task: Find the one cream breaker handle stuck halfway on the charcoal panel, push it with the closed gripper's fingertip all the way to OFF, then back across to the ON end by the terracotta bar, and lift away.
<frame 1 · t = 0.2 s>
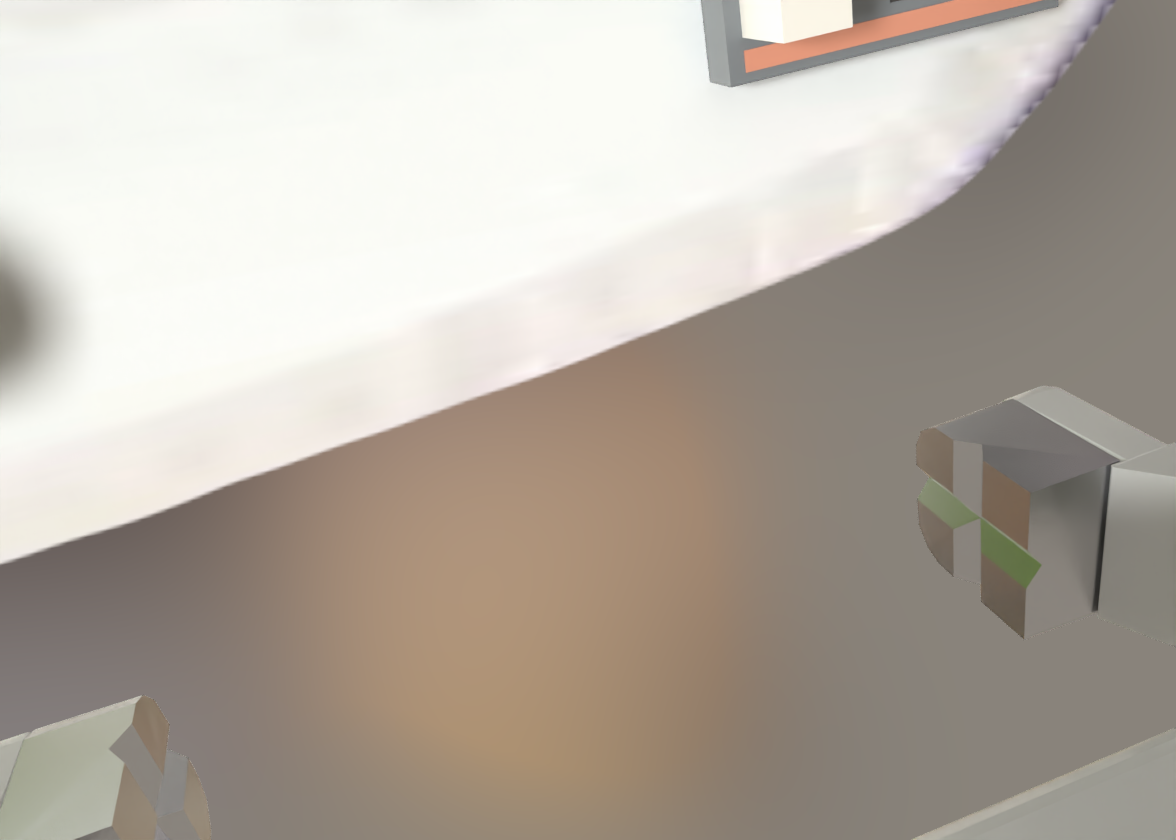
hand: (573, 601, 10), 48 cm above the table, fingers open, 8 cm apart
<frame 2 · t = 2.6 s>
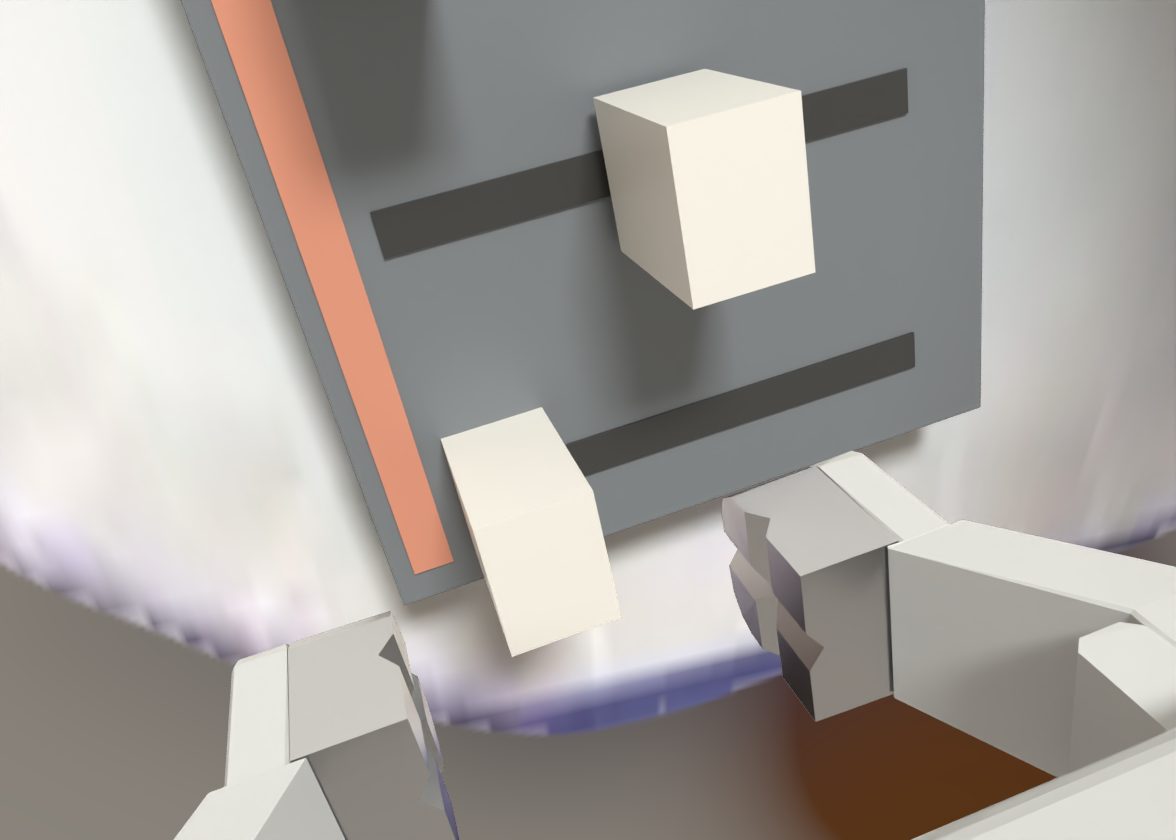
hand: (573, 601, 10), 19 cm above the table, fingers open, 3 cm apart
breaker handle: (699, 181, 22), point 6 cm above the table, slide at 6.0 cm
breaker panel: (618, 141, 27), on the table
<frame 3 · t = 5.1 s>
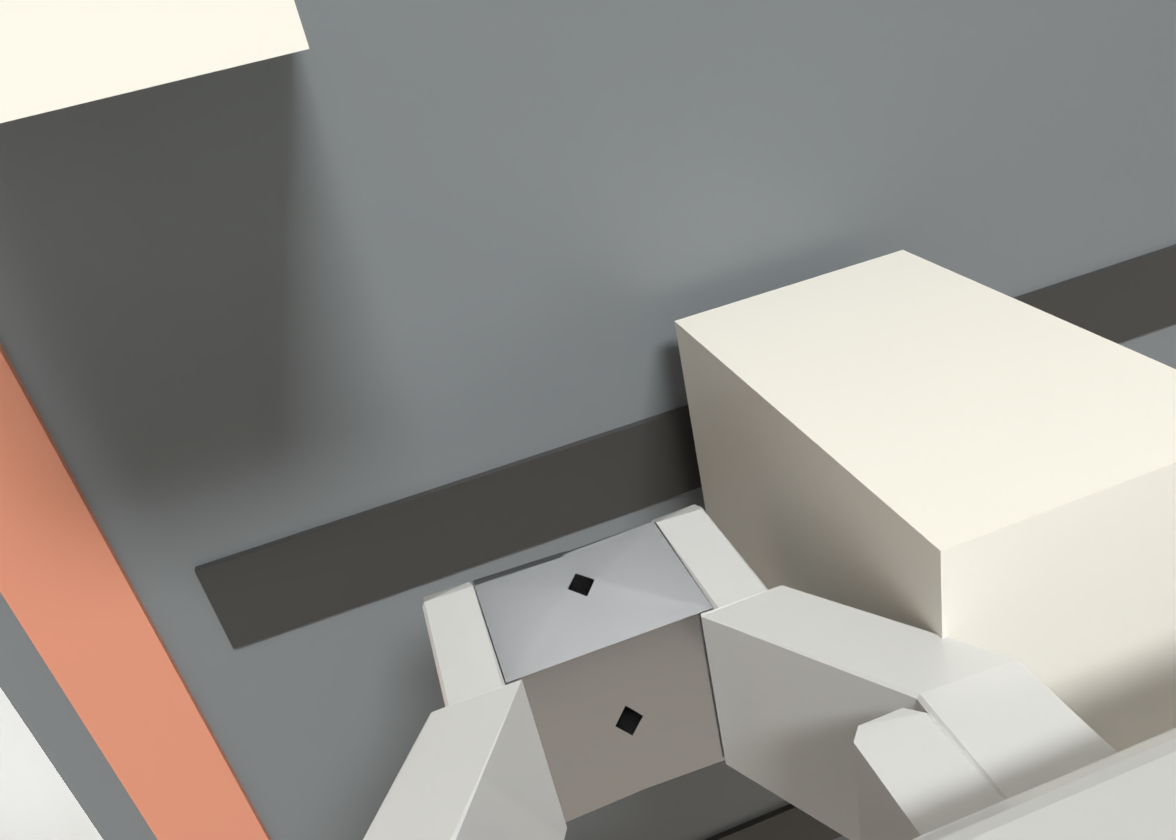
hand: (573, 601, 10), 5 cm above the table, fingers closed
breaker handle: (921, 528, 10), point 6 cm above the table, slide at 5.9 cm, touching gripper
breaker panel: (694, 338, 15), on the table
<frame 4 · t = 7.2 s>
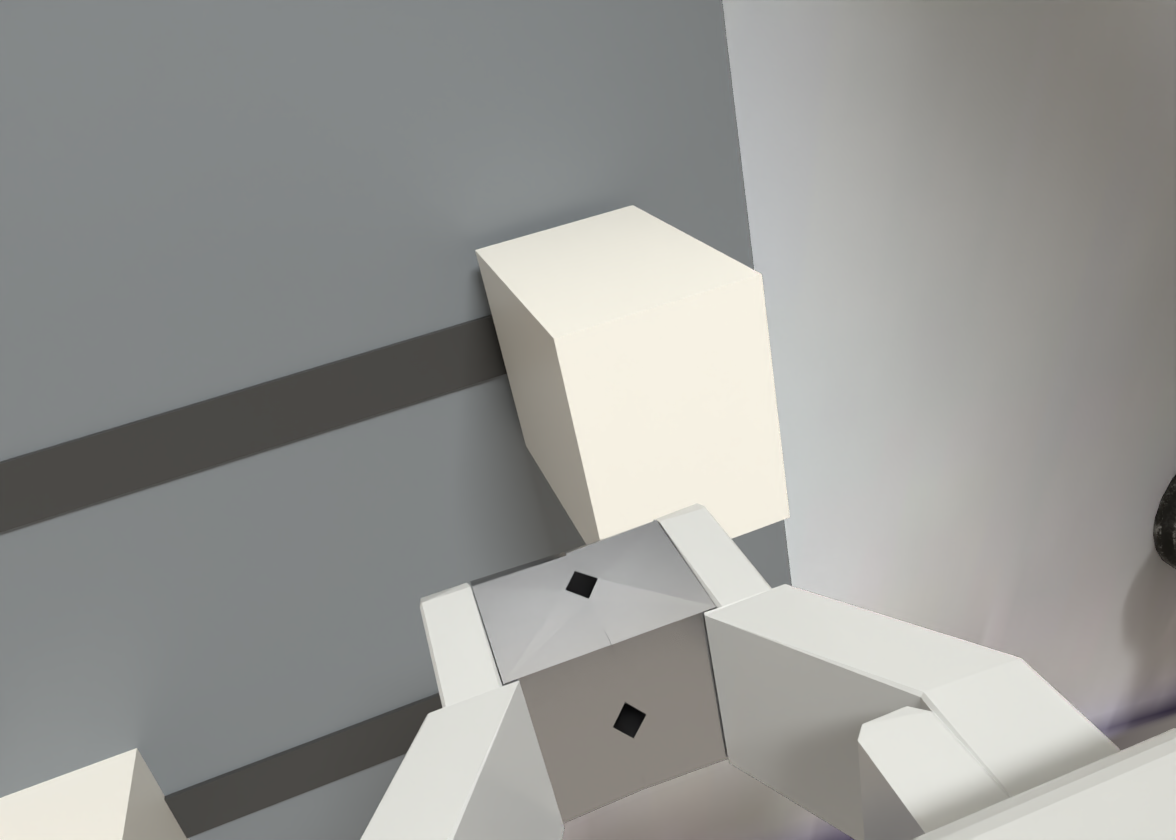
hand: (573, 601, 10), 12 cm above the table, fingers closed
breaker handle: (622, 375, 16), point 6 cm above the table, slide at -0.1 cm
breaker panel: (255, 362, 20), on the table
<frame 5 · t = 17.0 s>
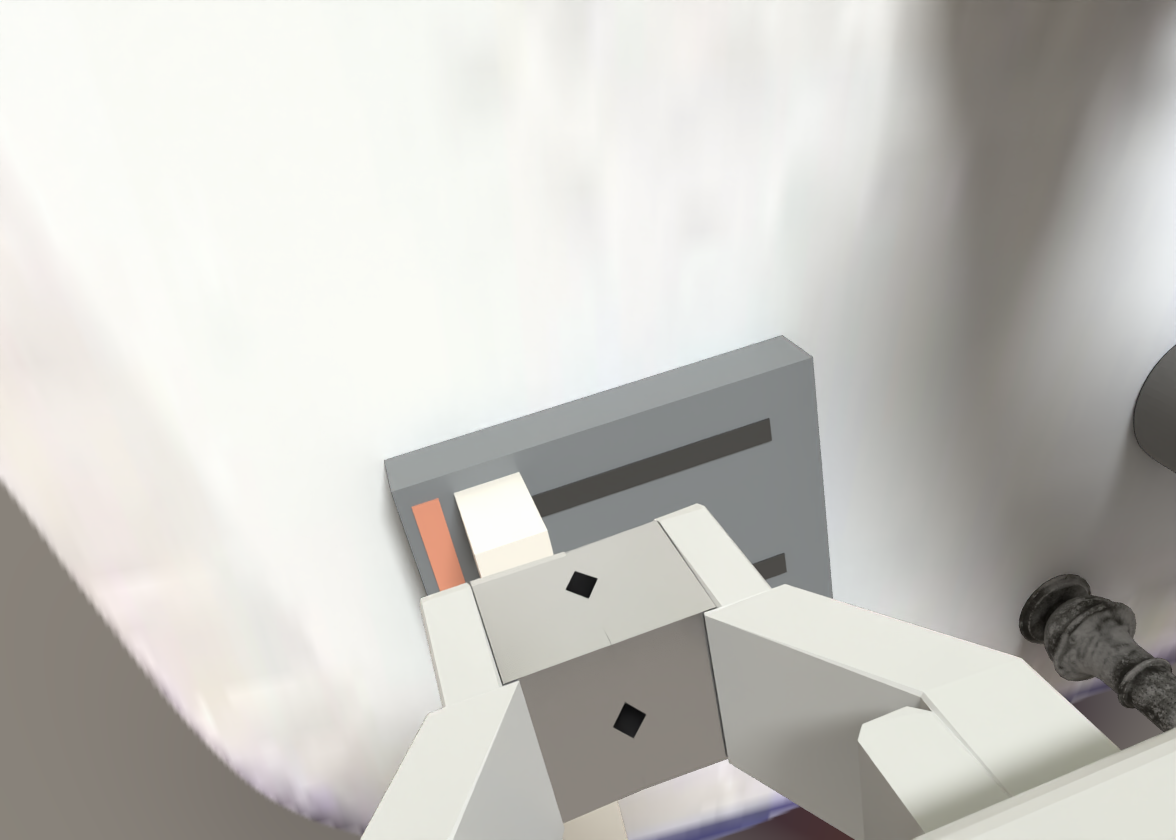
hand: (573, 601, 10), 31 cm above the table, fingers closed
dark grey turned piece: (1052, 607, 61), on the table
breaker panel: (629, 576, 50), on the table
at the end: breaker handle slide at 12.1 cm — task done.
